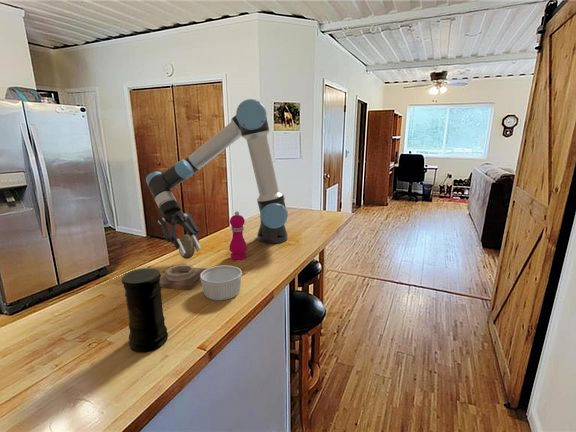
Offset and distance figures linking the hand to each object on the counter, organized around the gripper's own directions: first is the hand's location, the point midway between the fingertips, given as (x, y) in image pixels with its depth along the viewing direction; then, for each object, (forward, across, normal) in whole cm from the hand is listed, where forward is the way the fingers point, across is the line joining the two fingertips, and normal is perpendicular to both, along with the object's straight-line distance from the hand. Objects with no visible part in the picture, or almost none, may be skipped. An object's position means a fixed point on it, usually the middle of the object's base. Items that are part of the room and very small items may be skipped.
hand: (191, 252), depth 122 cm
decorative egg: (0, 0, -5) cm, 5 cm away
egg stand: (+10, +9, +2) cm, 13 cm away
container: (+29, +32, +20) cm, 47 cm away
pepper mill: (+9, -18, 0) cm, 20 cm away
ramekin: (+23, +4, +14) cm, 28 cm away
